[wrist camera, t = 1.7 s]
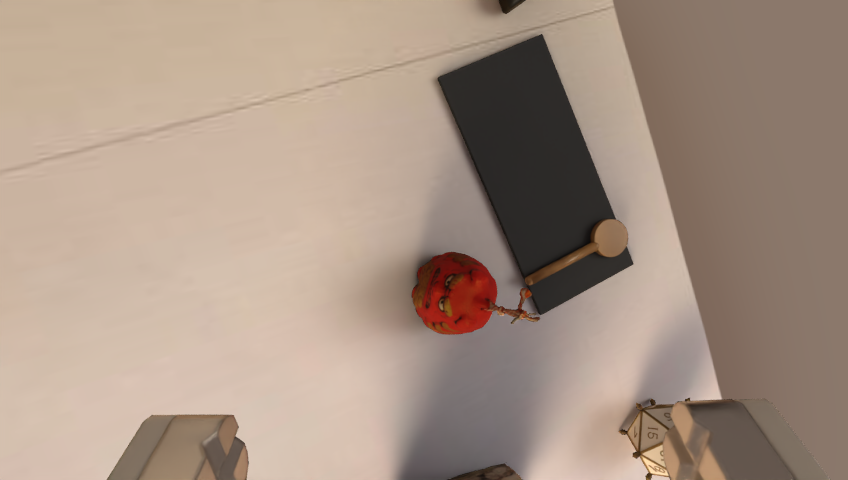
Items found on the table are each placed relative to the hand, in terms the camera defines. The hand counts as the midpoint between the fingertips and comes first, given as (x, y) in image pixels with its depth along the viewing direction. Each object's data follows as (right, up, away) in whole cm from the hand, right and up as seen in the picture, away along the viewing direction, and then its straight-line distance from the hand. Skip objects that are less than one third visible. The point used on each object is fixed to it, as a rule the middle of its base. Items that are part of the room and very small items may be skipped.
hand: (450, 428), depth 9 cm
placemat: (+11, +10, +42) cm, 44 cm away
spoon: (+15, +2, +42) cm, 45 cm away
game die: (+24, -17, +46) cm, 54 cm away
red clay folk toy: (+1, -1, +40) cm, 40 cm away
